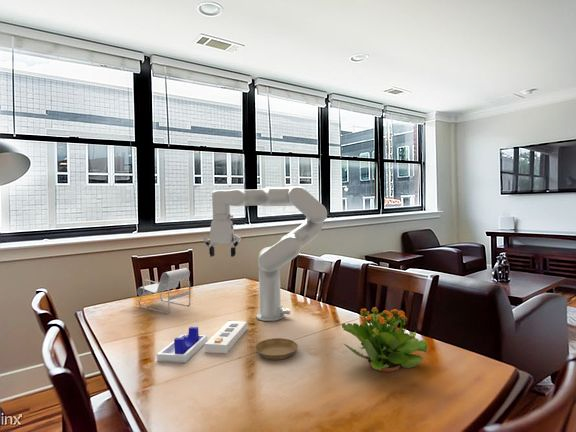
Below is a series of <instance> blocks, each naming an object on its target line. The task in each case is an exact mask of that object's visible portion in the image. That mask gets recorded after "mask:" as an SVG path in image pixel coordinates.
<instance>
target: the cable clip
mask: <svg viewBox="0 0 576 432" xmlns="http://www.w3.org/2000/svg"><path fill="white" fill-rule="evenodd" d="M199 335H200V334H199V327H198V326H190V327H188V333H187V335H186V336H185V337H184V338H178V337H175V338H174V340H173V341H174V345H175V354H184V353H185V352H187V351H188V350H189V349H190V348H191V347H192V346H193V345H194V344H195V343H196V342H198V341H199Z"/></svg>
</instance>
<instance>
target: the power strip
mask: <svg viewBox="0 0 576 432" xmlns="http://www.w3.org/2000/svg"><path fill="white" fill-rule="evenodd" d="M246 331H248V321H238V320H235V321H234V320H228V321H227V322H226V323H225V324H223V326H222V327H220V328H219V330H218V331H217V332H215V333H214V334H213V336H211V337H210V338H209V339H207V342H206V343H205V345H204V353H213V354H228V353H229V352H230V350H231V349H232V348H233V347H234V345H235V344H236V343H237V342H238V341H239V339H240V338H241V337H242V336H243V334H244V333H246Z"/></svg>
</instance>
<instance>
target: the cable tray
mask: <svg viewBox="0 0 576 432" xmlns="http://www.w3.org/2000/svg"><path fill="white" fill-rule="evenodd" d="M187 334H188V333H187ZM187 334H186V333H182V334H180V335H179V336H178V337H177V338H184V337H185V336H186V335H187ZM207 341H208V335H207V334H199V341H198V342H196V343H195V344H194V345H193V346H192V347H191V348H190V349H189V350H188V351H187V352H185V353H184V354H175V345H174V340H173V341H172V342H170V343H169V344H168V345H166V347H164V348H162V349H161V350H159V352H157V354H156V362H160V363H161V362H162V363H176V364H186V363H187V362H188V361H189V360H190V359H191V358H192V357H193V356H194V355H195V354H196V353H197V352H198V351H199V350H201V349H202V348H203V347H205V343H206V342H207Z"/></svg>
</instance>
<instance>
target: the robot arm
mask: <svg viewBox="0 0 576 432" xmlns="http://www.w3.org/2000/svg"><path fill="white" fill-rule="evenodd" d="M211 192H212V193H211V200H212V201H211V203H212V205H211V206H212V220H211V223H210V232H209V234H208V235H206V236H204V237H203V241H204V242H205V243H204V244H205V245H206V246H207V247H208V248H209V249H208V251H209V253H208V254H209V255H210V256H209V257H210V258H212V257H214V256H215V247H214V246H215V244H219V245H220V244H223V245H224V244H229V245H230V257H231V258H233V257H235V256H236V252H237V251H236V247H237V246H238V245H239V244H240V242H241V240H242V237H241V236H239V235H237V234H235V229H234V223H233V220H231V219H234V215H232V214H231V212H230V211H231V207H230V206H233V207H247V206H250V207H251V206H263V207H290V206H293V207H295V208H296V209H297V210H298V211H299V212H300V213H301V214H303V215H304V216H305V220H304V222H303V223H301V224H300V225H299V226H298V227H296V228H295V229H293V230H292V231H290V232H288V233H287V234H285V235H283V236H282V237H281V238H280V239H279V241H278V242H276V243H275V244H273V245H272V246H267V247H264V248H262V249H261V250H260V251H259V254H258V255H257V256H258V257H257V265H258V292H259V293H258V294H259V312H257V313H256V319H257V320H259V321H265V322H274V321H280V320H282V319H283V318H284V317H285V315H291V309H290V308H284V307H283V305H281V301H282V300H281V268H282V267H283V266H285V265H286V264H288V263H289V262H291V261H292V260H293V259H296V258H297V256H298V255H299V254H300V252H302V251H301V250H302V248H303V247H305V246H306V245H308V244H309V243H310V242H311V241H314V239H315V238H317V236H318V235H319V234H320V233H321V231H322V229H323V226H324V222H325V220H326V219H327V217H328V211H327V208H326V207H325V205H324V204H322V203H321V202H320V201H319V200H318V199H317V198H315V197H314V195H312V194H311V193H310V192H309V191H307V189H305V188H304V187H303V186H300V185H296V186H281V187H280V186H278V187H277V186H273V187H272V186H271V187H264V188H258V189H240V188H235V189H229V190H226V189H219V190H218V189H216V190H215V189H214V190H213V191H211ZM235 239H236V241H235Z"/></svg>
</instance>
